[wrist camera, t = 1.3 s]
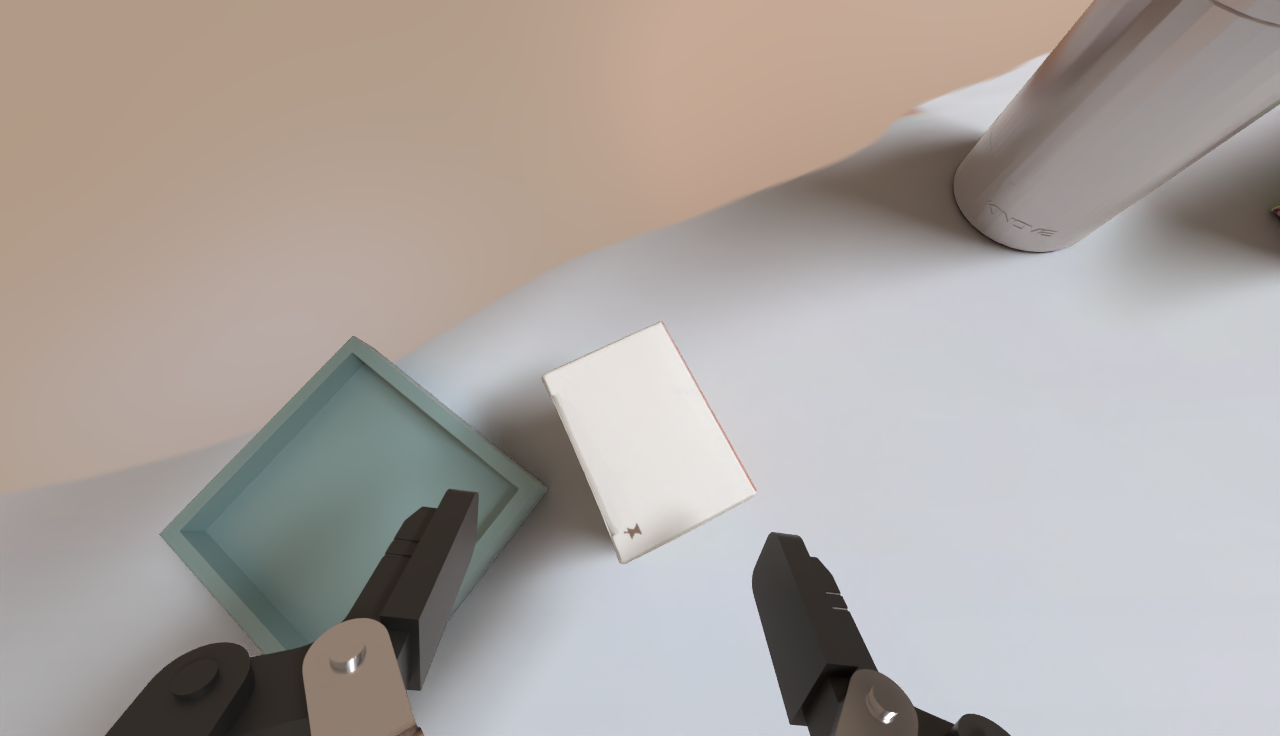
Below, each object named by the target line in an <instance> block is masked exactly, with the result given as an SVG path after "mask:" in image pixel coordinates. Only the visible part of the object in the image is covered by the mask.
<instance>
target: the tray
mask: <svg viewBox="0 0 1280 736" xmlns="http://www.w3.org/2000/svg"><path fill="white" fill-rule="evenodd" d="M449 488H450V489H458V490H465V491H473V492H478V494H479V504H478V523H477V537H476V543H475V548H474V552H473V555H472V558H471V561H470V564H469V566H468V569H467V571H466V574H465V577H464V579H463V582H462V584H461V587H460V590H459V592H458V595H457V597H456V600H455V603H454V605H453V608H452V610H451V613H450V616H449V618H448V620H449V619H450V617H451V616H452V615H453V613H454V612H455V611H456V609H457V608H458V607H459V606H460V604H461V603H462V602H463V600H464V599H465V598H466V596H467V595H468V594H469V592H470V591H471V590H472V589H473V587H474V586H475V585H476V583H477V582H478V581H479V579H480V578H481V577H482V575H483V574H484V573H485V572H486V570H487V569H488V568H489V566H490V565H491V564H492V562H493V561H494V560H495V558H496V557H497V556H498V555H499V553H500V552H501V551H502V549H503V548H504V547H505V545H506V544H507V543H508V541H509V540H510V539H511V538H512V536H513V535H514V534H515V532H516V531H517V530H518V528H519V527H520V526H521V524H522V523H523V522H524V520H525V519H526V518H527V517H528V515H529V514H530V513H531V511H532V510H533V509H534V507H535V506H536V505H537V503H538V502H539V501H540V500H541V498H542V497H543V496H544V494H545V493H546V492H547V490H548V489H549V488H547V487H546V486H545V485H544V484H542V483H541V482H540V481H539V480H537V479H536V478H535V477H534V476H532V475H531V474H530V473H529V472H527V471H526V470H525V469H524V468H523V467H521V466H520V465H519V464H518V463H516V462H515V461H514V460H513V459H511V458H510V457H509V456H508V455H506V454H505V453H504V452H503V451H501V450H500V449H499V448H498V447H496V446H495V445H494V444H493V443H491V442H490V441H489V440H488V439H486V438H485V437H484V436H483V435H481V434H480V433H479V432H478V431H476V430H475V429H474V428H473V427H471V426H470V425H469V424H468V423H466V422H465V421H464V420H463V419H461V418H460V417H459V416H458V415H456V414H455V413H454V412H453V411H452V410H450V409H449V408H448V407H447V406H445V405H444V404H443V403H442V402H440V401H439V400H438V399H437V398H435V397H434V396H433V395H432V394H430V393H429V392H428V391H427V390H425V389H424V388H423V387H422V386H420V385H419V384H418V383H417V382H415V381H414V380H413V379H412V378H410V377H409V376H408V375H407V374H405V373H404V372H403V371H402V370H400V369H399V368H398V367H397V366H395V365H394V364H393V363H392V362H390V361H389V360H388V359H387V358H385V357H384V356H383V355H382V354H381V353H379V352H378V351H377V350H376V349H374V348H373V347H371V346H369V345H368V344H366V343H365V342H363V341H361V340H360V339H358V338H356V337H355V336H352V337H351V338H350V339H349V340H348V341H347V343H345V344H344V346H343V347H342V348H341V349H340V350H339V351H338V352H337V353H336V354H335V355H334V356H333V357H332V358H331V359H330V360H329V361H328V362H327V363H326V364H325V365H324V366H323V367H322V368H321V369H320V370H319V371H318V372H317V373H316V374H315V375H314V376H313V377H312V378H311V379H310V381H308V382H307V383H306V384H305V386H304V387H303V388H302V389H301V390H300V391H299V392H298V393H297V394H296V395H295V396H294V397H293V398H292V399H291V400H290V401H289V402H288V403H287V404H286V405H285V406H284V407H283V408H282V409H281V410H280V411H279V412H278V413H277V414H276V415H275V416H274V417H273V418H272V419H271V420H270V422H268V423H267V424H266V425H265V427H264V428H263V429H262V430H261V431H260V432H259V433H258V434H257V435H256V436H255V437H254V438H253V439H252V440H251V441H250V442H249V443H248V444H247V445H246V446H245V447H244V448H243V449H242V450H241V451H240V452H239V453H238V454H237V455H236V456H235V457H234V458H233V459H232V460H231V461H230V462H229V463H228V464H227V466H226V467H225V468H224V469H223V470H222V471H221V472H220V473H219V474H218V475H217V476H216V477H215V478H214V479H213V480H212V481H211V482H210V483H209V484H208V485H207V486H206V487H205V488H204V489H203V490H202V491H201V492H200V493H199V494H198V495H197V496H196V497H195V498H194V499H193V500H192V501H191V502H190V503H189V504H188V506H187V507H186V508H185V509H184V510H183V511H182V512H181V513H180V514H179V515H178V516H177V517H176V518H175V519H174V520H173V521H172V522H171V523H170V524H169V525H168V526H167V527H166V528H165V529H164V530H163V531H162V532H161V533H160V534H159V535H160V536H161V537H162V538H163V539H164V540H165V541H166V543H167V544H168V545H169V546H170V547H171V548H172V549H173V551H174V552H175V553H176V554H177V555H178V556H179V557H180V559H181V560H182V561H183V562H184V563H185V564H186V565H187V567H188V568H189V569H190V570H191V571H192V572H193V573H194V574H195V576H196V577H197V578H198V579H199V580H200V581H201V582H202V584H203V585H204V586H205V587H206V588H207V589H208V590H209V592H210V593H211V594H212V595H213V596H214V597H215V598H216V600H217V601H218V602H219V603H220V604H221V605H222V606H223V607H224V609H225V610H226V611H227V612H228V613H229V614H230V615H231V617H232V618H233V619H234V620H235V621H236V622H237V623H238V625H239V626H240V627H241V628H242V629H243V630H244V631H245V633H246V634H247V635H248V636H249V637H250V638H251V639H252V640H253V642H254V643H255V644H256V645H257V646H258V647H259V648H260V650H261V651H262V652H263V653H264V654H270V653H275V652H280V651H285V650H290V649H295V648H298V647H302V646H305V645H308V644H310V643H312V642H314V641H316V640H317V639H318V638H319V637H320V636H321V635H322V634H323V633H325V632H326V631H327V630H329V629H330V628H332V627H333V626H335V625H337V624H340V623H341V622H342V621H343V620H344V619H345V618H346V616H347V615H348V613H349V612H350V610H351V608H352V607H353V605H354V603H355V602H356V600H357V599H358V597H359V595H360V594H361V592H362V590H363V589H364V587H365V585H366V584H367V582H368V580H369V579H370V577H371V575H372V574H373V572H374V570H375V569H376V567H377V565H378V564H379V562H380V560H381V559H382V557H384V556H385V552H386V550H387V549H388V547H389V546H390V544H391V542H393V540H394V537H395V536H396V534H397V532H398V531H399V529H400V527H401V526H402V524H403V522H404V521H405V520H406V519H407V518H408V517H410V516H411V515H412V514H413V513H415V512H416V511H417V510H418V509H420V508H421V507H422V506H424V507H432V508H438V506H439V504H440V502H441V500H442V498H443V496H444V495H445V493H446V491H447V490H448V489H449Z"/></svg>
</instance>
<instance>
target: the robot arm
mask: <svg viewBox="0 0 1280 736" xmlns="http://www.w3.org/2000/svg"><path fill="white" fill-rule="evenodd" d="M1279 104H1280V0H1094V1H1093V2H1092V3H1091V5H1090V6H1089V7H1088V8H1087V9H1086V11H1085V12H1084V13H1083V14H1082V16H1081V17H1080V18H1079V19H1078V21H1077V22H1076V23H1075V24H1074V25H1073V27H1072V28H1071V29H1070V30H1069V31H1068V33H1067V34H1066V35H1065V36H1064V38H1063V39H1062V40H1061V41H1060V42H1059V44H1058V45H1057V46H1056V47H1055V49H1054V50H1053V51H1052V52H1051V53H1050V55H1049V56H1048V57H1047V58H1046V60H1045V61H1044V62H1043V63H1042V64H1041V66H1040V67H1039V68H1038V69H1037V71H1036V72H1035V73H1034V74H1033V75H1032V77H1031V78H1030V79H1029V80H1028V82H1027V83H1026V84H1025V85H1024V86H1023V88H1022V89H1021V90H1020V91H1019V93H1018V94H1017V95H1016V96H1015V97H1014V99H1013V100H1012V101H1011V102H1010V104H1009V105H1008V106H1007V107H1006V108H1005V110H1004V111H1003V112H1002V113H1001V114H1000V115H999V117H998V118H997V119H996V120H995V122H994V123H993V124H992V125H991V126H990V128H989V129H988V130H987V131H986V133H985V134H984V135H983V136H982V137H981V139H980V140H979V141H978V142H977V144H976V145H975V146H974V147H973V149H972V150H971V151H970V152H969V153H968V155H967V156H966V157H965V158H964V160H963V161H962V162H961V164H960V165H959V167H958V168H957V170H956V174H955V177H954V195H955V198H956V202H957V204H958V206H959V208H960V210H961V212H962V214H963V215H964V216H965V217H966V218H967V220H968V221H969V222H970V223H971V224H972V225H973V226H974V227H975V228H977V229H978V230H979V231H980V232H981V233H983V234H984V235H986V236H987V237H989V238H991V239H993V240H994V241H996V242H998V243H1001V244H1003V245H1006V246H1009V247H1011V248H1015V249H1020V250H1024V251H1034V252H1047V251H1055V250H1060V249H1063V248H1066V247H1069V246H1071V245H1073V244H1075V243H1076V242H1078V241H1080V240H1081V239H1083V238H1084V237H1086V236H1087V235H1089V234H1090V233H1092V232H1093V231H1095V230H1096V229H1097V228H1099V227H1100V226H1102V225H1103V224H1105V223H1106V222H1108V221H1109V220H1111V219H1112V218H1114V217H1115V216H1116V215H1118V214H1119V213H1121V212H1122V211H1124V210H1125V209H1127V208H1128V207H1130V206H1131V205H1133V204H1134V203H1136V202H1137V201H1139V200H1140V199H1142V198H1143V197H1145V196H1146V195H1148V194H1149V193H1151V192H1152V191H1153V190H1155V189H1156V188H1158V187H1159V186H1161V185H1162V184H1164V183H1165V182H1167V181H1168V180H1170V179H1171V178H1172V177H1174V176H1175V175H1177V174H1178V173H1180V172H1181V171H1183V170H1184V169H1186V168H1187V167H1189V166H1190V165H1191V164H1193V163H1194V162H1196V161H1197V160H1199V159H1200V158H1202V157H1203V156H1205V155H1206V154H1208V153H1209V152H1210V151H1212V150H1213V149H1215V148H1216V147H1218V146H1219V145H1221V144H1222V143H1224V142H1225V141H1227V140H1228V139H1229V138H1231V137H1232V136H1234V135H1235V134H1237V133H1238V132H1240V131H1241V130H1243V129H1244V128H1245V127H1247V126H1248V125H1250V124H1251V123H1253V122H1254V121H1256V120H1257V119H1259V118H1260V117H1262V116H1263V115H1264V114H1266V113H1267V112H1269V111H1270V110H1272V109H1273V108H1275V107H1276V106H1278V105H1279ZM478 504H479V494H478V492H473V491H465V490H458V489H450V488H449V489H448V490H447V491H446V493H445V495H444V496H443V498H442V500H441V502H440V504H439V506H438V508H432V507H424V506H422V507H421V508H420V509H418V510H417V511H416V512H415V513H413V514H412V515H411V516H410V517H408V518H407V519H406V520H405V521H404V522H403V524H402V526H401V527H400V529H399V531H398V532H397V534H396V536H395V537H394V540H393V542H391V544H390V546H389V547H388V549H387V550H386V552H385V556H384V557H382V559H381V560H380V562H379V564H378V565H377V567H376V569H375V570H374V572H373V574H372V575H371V577H370V579H369V580H368V582H367V584H366V585H365V587H364V589H363V590H362V592H361V594H360V595H359V597H358V599H357V600H356V602H355V603H354V605H353V607H352V608H351V610H350V612H349V613H348V615H347V616H346V618H345V619H344V620H343V621H342V622H341V623H340V624H337V625H335V626H333V627H332V628H330V629H329V630H327V631H326V632H325V633H323V634H322V635H321V636H320V637H319V638H318V639H317V640H316V641H314V642H312V643H310V644H308V645H305V646H302V647H298V648H295V649H290V650H285V651H280V652H275V653H270V654H265V655H260V656H255V657H249V654H248V652H247V651H246V650H245V649H244V648H243V647H242V646H240V645H237V644H234V643H227V642H225V643H214V644H209V645H206V646H202V647H199V648H197V649H194V650H192V651H190V652H188V653H186V654H184V655H182V656H180V657H179V658H177V659H175V660H174V661H172V662H171V663H170V664H168V665H167V666H166V667H164V668H163V669H162V670H161V671H160V672H159V673H158V674H157V675H156V676H155V677H154V678H153V679H152V680H151V681H150V682H149V683H148V685H147V686H146V687H145V688H144V689H143V691H142V692H141V693H140V694H139V695H138V697H137V698H136V699H135V700H134V701H133V703H132V704H131V705H130V706H129V707H128V709H127V710H126V711H125V712H124V713H123V715H122V716H121V717H120V718H119V719H118V721H117V722H116V723H115V724H114V725H113V727H112V728H111V729H110V730H109V731H108V733H107V734H106V735H105V736H424V734H423V732H422V730H421V728H420V727H417V725H416V722H415V720H414V716H413V713H412V710H411V707H410V703H409V700H408V697H407V693H406V689H407V690H418V691H421V688H422V686H423V683H424V681H425V678H426V675H427V673H428V670H429V668H430V665H431V662H432V660H433V657H434V655H435V652H436V649H437V647H438V644H439V642H440V639H441V636H442V634H443V631H444V629H445V626H446V623H447V621H448V618H449V616H450V613H451V610H452V608H453V605H454V603H455V600H456V597H457V595H458V592H459V590H460V587H461V584H462V582H463V579H464V577H465V574H466V571H467V569H468V566H469V564H470V561H471V558H472V555H473V552H474V548H475V543H476V537H477V523H478ZM752 589H753V594H754V598H755V601H756V605H757V609H758V612H759V616H760V619H761V623H762V626H763V630H764V634H765V637H766V641H767V644H768V648H769V651H770V655H771V659H772V662H773V666H774V669H775V673H776V676H777V680H778V683H779V687H780V691H781V694H782V698H783V701H784V705H785V708H786V712H787V716H788V719H789V723H790V725H801V726H808V729H809V732H810V736H1010V735H1009V734H1008V733H1007V732H1006V731H1005V730H1004V729H1002V728H1001V727H1000V726H999V725H997V724H996V723H994V722H993V721H991V720H989V719H987V718H985V717H983V716H980V715H976V714H966V715H964V716H962V717H961V718H960V719H959V721H958V722H957V723H956V724H952V723H950V722H948V721H945V720H943V719H941V718H938V717H936V716H934V715H932V714H929V713H927V712H925V711H922V710H920V709H918V708H916V707H914V706H913V704H912V703H911V701H910V699H909V698H908V696H907V695H906V694H905V693H904V691H903V690H902V689H901V688H900V687H899V686H898V685H897V684H896V683H895V682H894V681H892V680H891V679H890V678H888V677H887V676H885V675H883V674H882V673H879V672H878V670H877V668H876V666H875V664H874V662H873V660H872V658H871V656H870V654H869V651H868V649H867V647H866V645H865V643H864V641H863V639H862V637H861V635H860V633H859V631H858V628H857V626H856V624H855V622H854V620H853V618H852V616H851V614H850V612H849V611H848V610H847V608H848V607H847V605H846V603H845V601H844V599H843V597H842V596H840V591H839V589H838V587H837V584H836V582H835V580H834V578H833V576H832V574H831V573H830V572H829V571H828V570H827V568H826V567H825V566H824V565H823V564H822V563H821V562H820V560H819V559H818V558H816V557H810V556H809V553H808V551H807V549H806V547H805V544H804V542H803V540H802V539H801V537H800V536H798V535H791V534H783V533H776V532H772V533H770V534H769V535H768V537H767V540H766V542H765V544H764V547H763V549H762V551H761V554H760V556H759V559H758V561H757V563H756V566H755V568H754V571H753V576H752Z"/></svg>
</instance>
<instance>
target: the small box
mask: <svg viewBox="0 0 1280 736" xmlns="http://www.w3.org/2000/svg"><path fill="white" fill-rule="evenodd" d="M542 381H543V383H544V385H545V387H546V389H547V391H548V393H549V395H550V397H551V399H552V401H553V403H554V405H555V407H556V410H557V412H558V414H559V416H560V419H561V421H562V423H563V425H564V428H565V430H566V432H567V435H568V437H569V439H570V442H571V444H572V446H573V449H574V451H575V453H576V456H577V458H578V460H579V462H580V465H581V467H582V469H583V472H584V474H585V477H586V479H587V481H588V484H589V486H590V488H591V491H592V493H593V496H594V498H595V500H596V503H597V505H598V507H599V510H600V512H601V515H602V517H603V520H604V523H605V525H606V528H607V530H608V533H609V536H610V538H611V541H612V544H613V546H614V549H615V552H616V554H617V558H618V560H619V562H620V563H621V564H626V563H628V562H630V561H632V560H634V559H636V558H638V557H640V556H642V555H644V554H646V553H648V552H650V551H652V550H654V549H656V548H658V547H660V546H662V545H664V544H666V543H668V542H670V541H672V540H674V539H676V538H678V537H680V536H682V535H684V534H686V533H688V532H690V531H692V530H694V529H695V528H697V527H699V526H701V525H703V524H705V523H707V522H709V521H711V520H713V519H714V518H716V517H718V516H720V515H722V514H723V513H725V512H727V511H729V510H731V509H732V508H734V507H736V506H738V505H740V504H742V503H743V502H745V501H747V500H749V499H751V498H752V497H754V496H755V495H756V494H757V490H756V488H755V487H754V485H753V483H752V481H751V480H750V478H749V476H748V474H747V472H746V471H745V469H744V467H743V465H742V463H741V462H740V460H739V458H738V456H737V455H736V453H735V451H734V449H733V447H732V446H731V444H730V442H729V440H728V438H727V437H726V435H725V433H724V431H723V429H722V428H721V426H720V424H719V422H718V420H717V419H716V417H715V415H714V413H713V411H712V410H711V408H710V406H709V404H708V403H707V401H706V399H705V397H704V395H703V393H702V392H701V390H700V388H699V386H698V385H697V383H696V381H695V379H694V377H693V376H692V374H691V372H690V370H689V368H688V367H687V365H686V363H685V361H684V359H683V358H682V356H681V354H680V352H679V350H678V348H677V347H676V345H675V343H674V342H673V340H672V338H671V336H670V334H669V333H668V331H667V329H666V327H665V325H664V323H663V322H658V323H656V324H654V325H652V326H649V327H647V328H645V329H643V330H640V331H638V332H636V333H634V334H632V335H629V336H627V337H625V338H623V339H620V340H618V341H616V342H614V343H612V344H609V345H607V346H605V347H603V348H601V349H598V350H596V351H594V352H592V353H589V354H587V355H585V356H583V357H581V358H578V359H576V360H574V361H572V362H570V363H567V364H565V365H563V366H561V367H559V368H556V369H554V370H552V371H550V372H548V373H545V374H544V375H543V376H542Z"/></svg>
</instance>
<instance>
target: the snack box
mask: <svg viewBox="0 0 1280 736" xmlns="http://www.w3.org/2000/svg"><path fill="white" fill-rule="evenodd" d="M1271 211H1272V212H1274V213H1276V214H1277V215H1278V216H1279V217H1280V205H1279V206H1277V207H1275V208H1272V210H1271Z"/></svg>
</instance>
